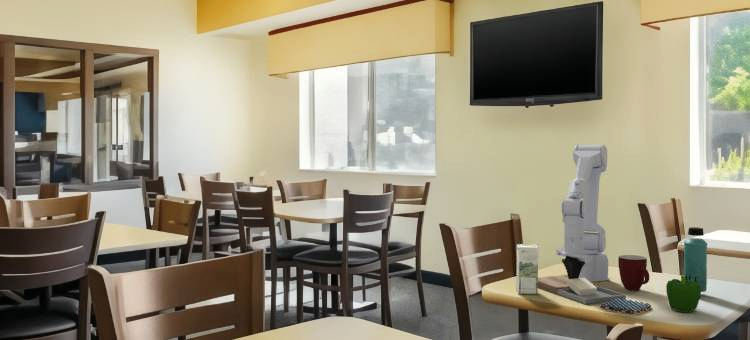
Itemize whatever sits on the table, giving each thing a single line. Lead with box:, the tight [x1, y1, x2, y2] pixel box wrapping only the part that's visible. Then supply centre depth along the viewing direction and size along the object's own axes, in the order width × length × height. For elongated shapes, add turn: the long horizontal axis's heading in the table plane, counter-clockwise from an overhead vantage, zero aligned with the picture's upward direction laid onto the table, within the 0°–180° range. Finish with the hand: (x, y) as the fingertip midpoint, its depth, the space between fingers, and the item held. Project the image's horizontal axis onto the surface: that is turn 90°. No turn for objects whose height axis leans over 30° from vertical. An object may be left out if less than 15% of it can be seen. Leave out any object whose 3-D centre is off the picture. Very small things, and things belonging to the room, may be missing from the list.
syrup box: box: [515, 243, 539, 296], centre depth 199 cm, size 6×6×14 cm
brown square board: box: [538, 274, 596, 295], centre depth 206 cm, size 14×14×2 cm
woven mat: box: [599, 298, 653, 316], centre depth 180 cm, size 10×11×2 cm
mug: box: [618, 254, 650, 292], centre depth 201 cm, size 10×8×10 cm
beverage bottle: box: [682, 226, 708, 293], centre depth 195 cm, size 6×7×20 cm
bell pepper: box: [665, 274, 702, 313], centre depth 178 cm, size 8×8×10 cm
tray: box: [556, 284, 627, 305], centre depth 193 cm, size 14×13×2 cm
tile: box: [567, 278, 597, 296], centre depth 197 cm, size 6×6×2 cm
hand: (573, 282), depth 200 cm, fingers closed
